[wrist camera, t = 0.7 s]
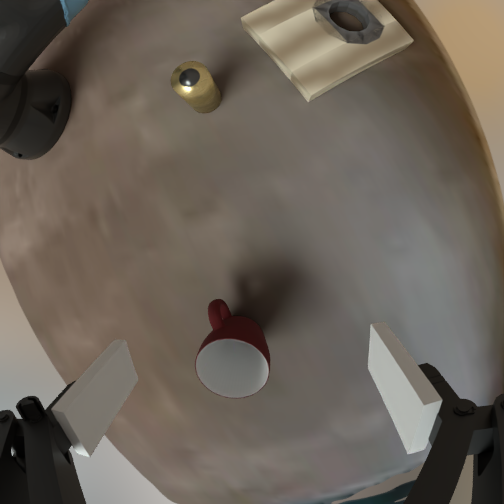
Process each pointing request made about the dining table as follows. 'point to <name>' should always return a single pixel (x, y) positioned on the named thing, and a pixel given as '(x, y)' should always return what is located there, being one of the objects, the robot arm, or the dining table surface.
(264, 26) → the jig
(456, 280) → the dining table surface
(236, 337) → the mug
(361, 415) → the dining table surface
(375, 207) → the dining table surface
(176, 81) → the cylinder with metal cap
